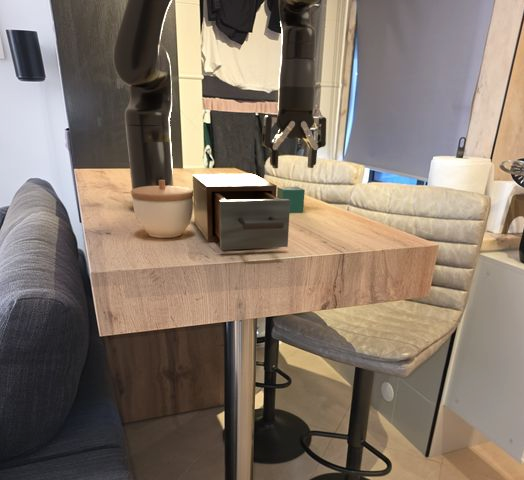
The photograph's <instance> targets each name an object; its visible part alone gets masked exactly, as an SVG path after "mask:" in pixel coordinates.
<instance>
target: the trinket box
mask: <svg viewBox="0 0 524 480" xmlns="http://www.w3.org/2000/svg"><path fill="white" fill-rule="evenodd" d="M130 194H131V198H132V207H133V206H134V208H133V211H134V215H135V217H136V220H137V222H138V224H139V226H140V227H141V228H142V229H143V230H144V231H145V232H147V233H148V236H149V237H152V238H156V239H157V238H158V239H171V238H177V237H180V236H182V235H183V232H184V231H186V229H187V228H188V227H189V226H190V223H191V221H192V217H193V212H194V197H193V188H192V189H191V188H189V187H186V186H177V185H173V186H165V180H159V186H145V187H138V188H135V189H132V188H131V190H130Z"/></svg>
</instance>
